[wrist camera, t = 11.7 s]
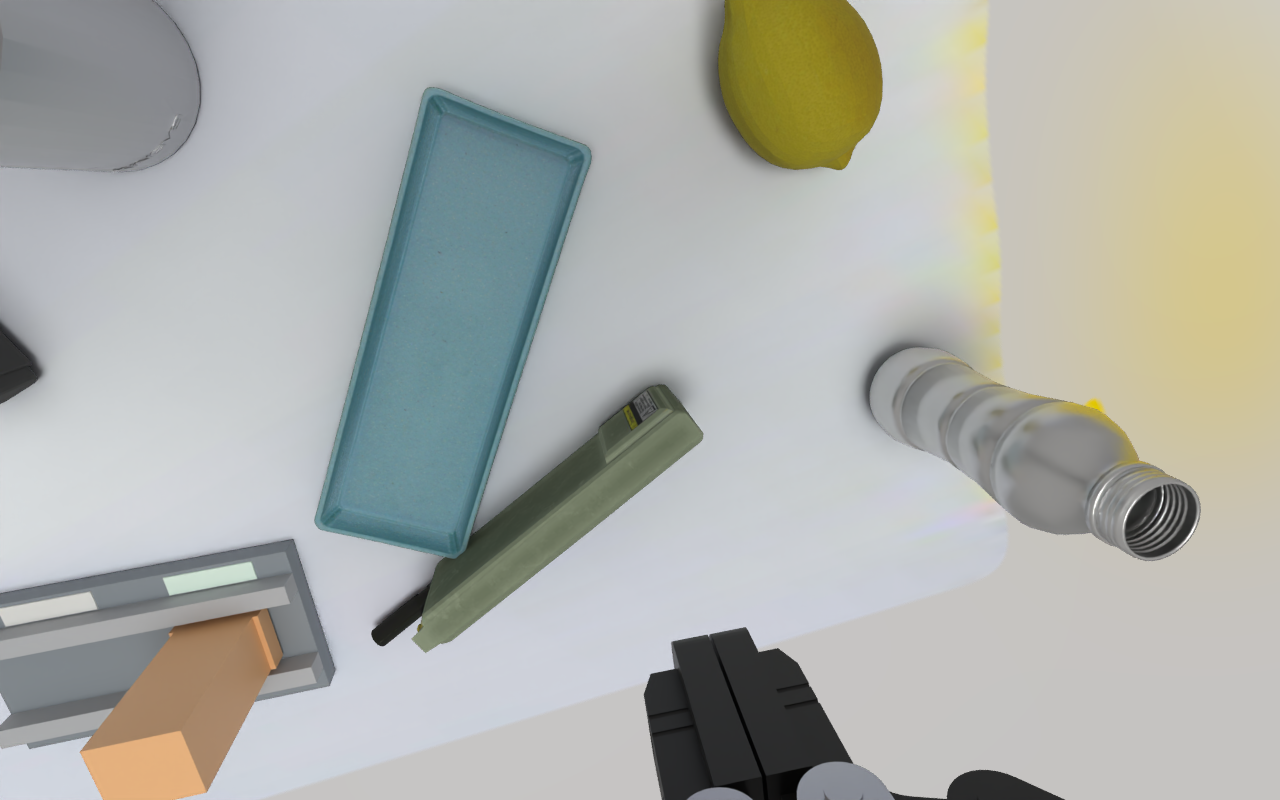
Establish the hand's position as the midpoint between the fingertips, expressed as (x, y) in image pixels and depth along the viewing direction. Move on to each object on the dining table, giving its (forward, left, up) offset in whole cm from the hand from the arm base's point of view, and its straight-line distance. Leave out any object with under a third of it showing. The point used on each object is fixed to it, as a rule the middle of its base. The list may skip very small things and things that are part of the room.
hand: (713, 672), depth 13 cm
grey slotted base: (-2, -32, -30) cm, 44 cm away
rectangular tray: (-5, -6, -31) cm, 32 cm away
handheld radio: (+6, -10, -31) cm, 33 cm away
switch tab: (0, -28, -29) cm, 40 cm away
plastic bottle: (+16, +15, -31) cm, 38 cm away
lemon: (-5, +18, -31) cm, 36 cm away
